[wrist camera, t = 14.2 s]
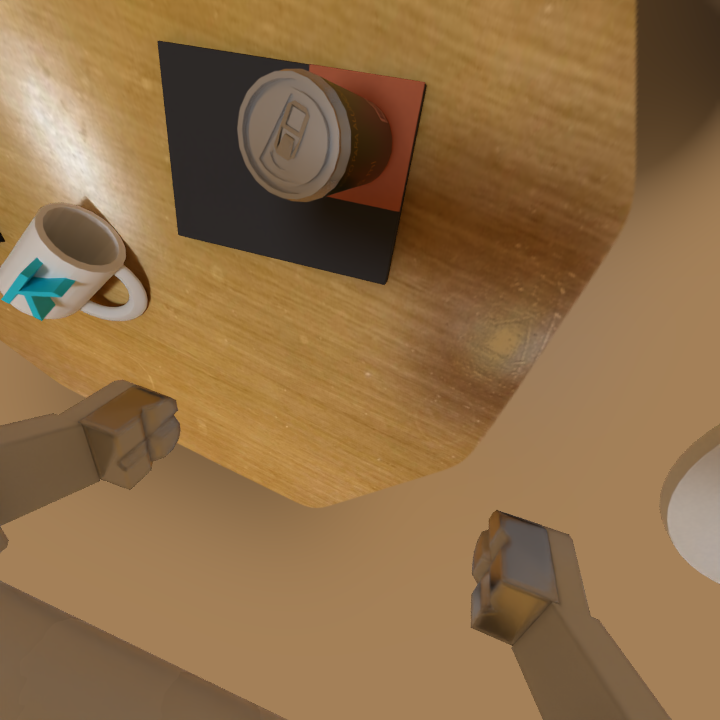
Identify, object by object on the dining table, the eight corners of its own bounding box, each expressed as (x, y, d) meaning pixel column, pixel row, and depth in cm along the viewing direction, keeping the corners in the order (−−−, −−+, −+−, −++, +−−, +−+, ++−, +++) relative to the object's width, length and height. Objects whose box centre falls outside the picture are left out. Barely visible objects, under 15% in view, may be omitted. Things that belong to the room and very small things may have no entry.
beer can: (342, 81, 25) (254, 33, 15) (409, 126, 25) (367, 109, 15) (311, 160, 28) (219, 165, 18) (371, 199, 28) (314, 226, 18)
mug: (-46, 312, 34) (-2, 242, 28) (17, 256, 40) (63, 189, 34) (88, 377, 41) (144, 330, 35) (124, 320, 47) (177, 273, 41)
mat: (426, 85, 25) (425, 82, 24) (387, 281, 32) (384, 286, 31) (166, 43, 28) (154, 39, 26) (185, 233, 35) (176, 235, 34)
